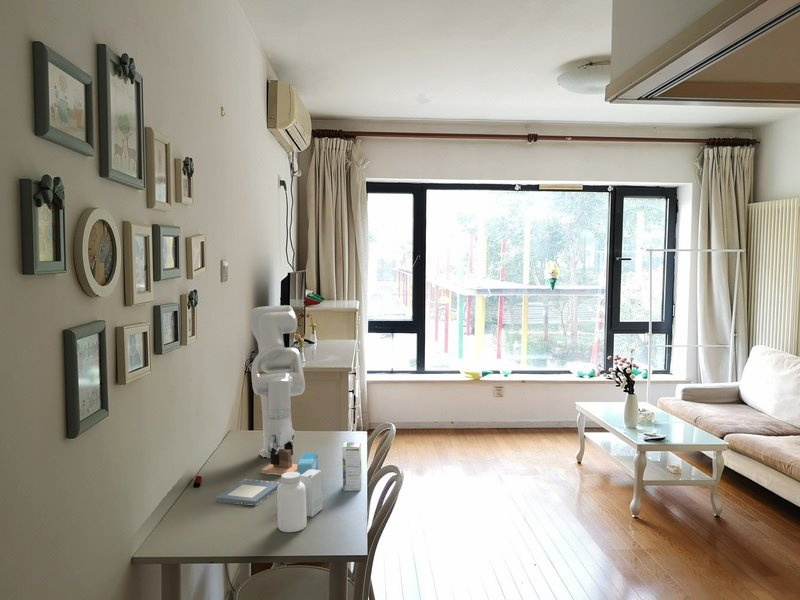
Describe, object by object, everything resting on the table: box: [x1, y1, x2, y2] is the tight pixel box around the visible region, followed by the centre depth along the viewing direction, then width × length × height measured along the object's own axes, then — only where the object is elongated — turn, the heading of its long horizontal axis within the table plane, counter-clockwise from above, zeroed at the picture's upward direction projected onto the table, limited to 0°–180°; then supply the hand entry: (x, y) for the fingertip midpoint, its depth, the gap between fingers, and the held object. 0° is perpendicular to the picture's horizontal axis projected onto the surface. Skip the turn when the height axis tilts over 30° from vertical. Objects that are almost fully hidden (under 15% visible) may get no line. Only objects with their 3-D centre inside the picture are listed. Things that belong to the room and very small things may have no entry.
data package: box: [297, 452, 319, 475], centre depth 192 cm, size 12×4×12 cm, turn 179°
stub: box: [261, 449, 298, 474], centre depth 214 cm, size 8×12×8 cm, turn 72°
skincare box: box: [300, 469, 323, 518], centre depth 178 cm, size 6×4×12 cm
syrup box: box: [341, 441, 363, 492], centre depth 197 cm, size 6×6×14 cm
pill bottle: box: [276, 472, 307, 533], centre depth 169 cm, size 8×8×15 cm
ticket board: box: [215, 478, 281, 505], centre depth 194 cm, size 16×14×2 cm
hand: (282, 459), depth 215 cm, fingers open, 9 cm apart
